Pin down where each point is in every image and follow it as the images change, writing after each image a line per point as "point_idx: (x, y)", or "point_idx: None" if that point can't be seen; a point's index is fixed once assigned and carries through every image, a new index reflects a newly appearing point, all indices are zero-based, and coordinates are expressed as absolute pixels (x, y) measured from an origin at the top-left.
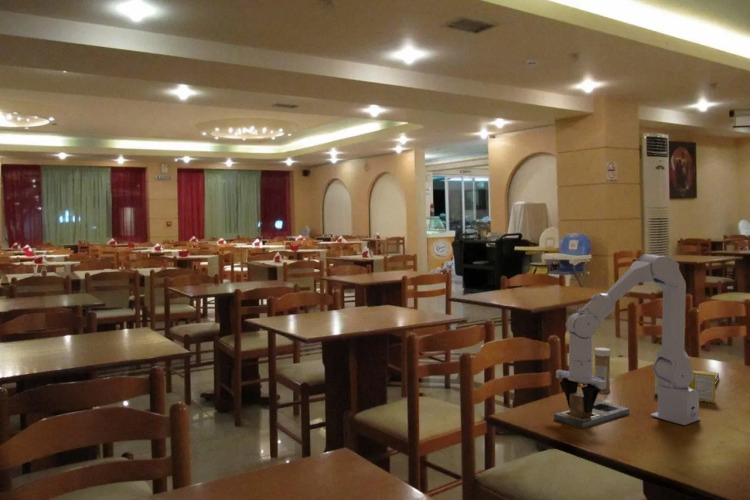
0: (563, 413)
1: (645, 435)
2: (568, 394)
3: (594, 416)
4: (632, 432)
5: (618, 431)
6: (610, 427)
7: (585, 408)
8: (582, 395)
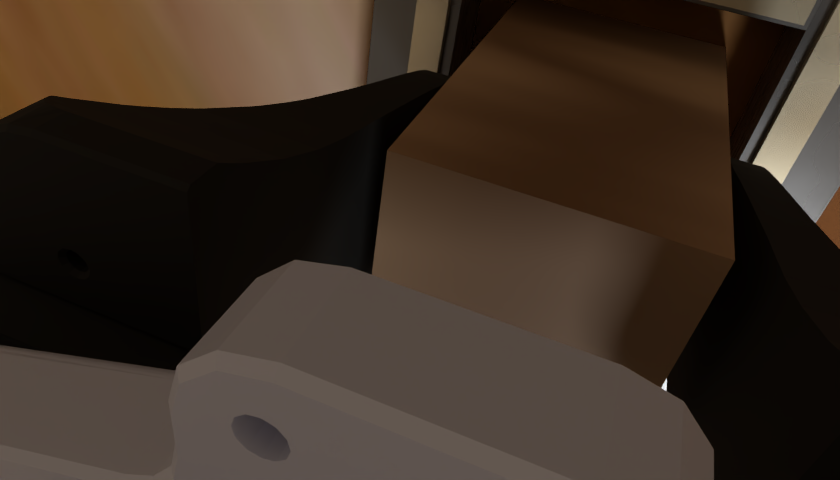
0: (829, 20)
1: (4, 54)
2: (775, 265)
3: None
4: (87, 61)
5: (154, 5)
6: (259, 73)
7: (418, 84)
8: (447, 266)
